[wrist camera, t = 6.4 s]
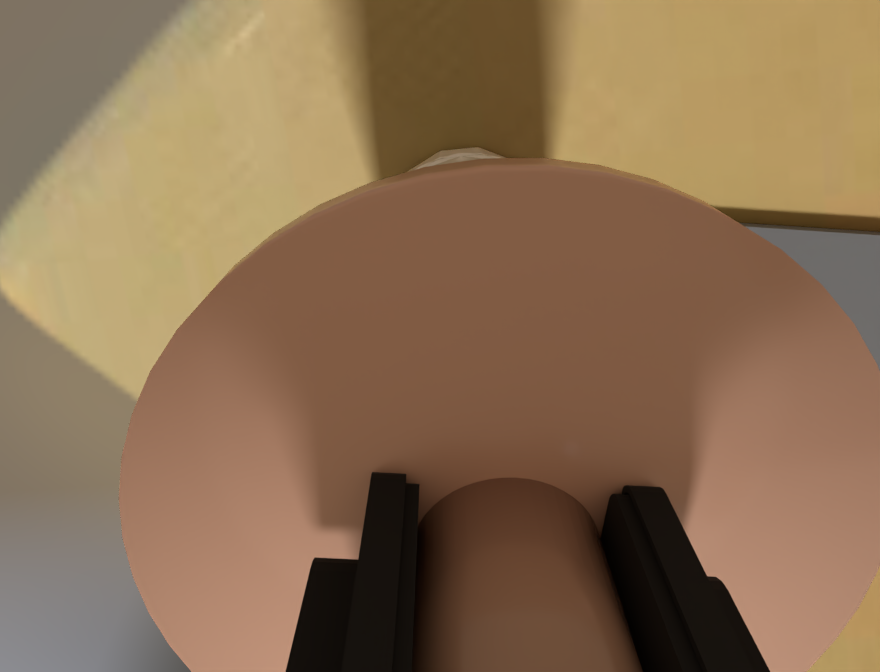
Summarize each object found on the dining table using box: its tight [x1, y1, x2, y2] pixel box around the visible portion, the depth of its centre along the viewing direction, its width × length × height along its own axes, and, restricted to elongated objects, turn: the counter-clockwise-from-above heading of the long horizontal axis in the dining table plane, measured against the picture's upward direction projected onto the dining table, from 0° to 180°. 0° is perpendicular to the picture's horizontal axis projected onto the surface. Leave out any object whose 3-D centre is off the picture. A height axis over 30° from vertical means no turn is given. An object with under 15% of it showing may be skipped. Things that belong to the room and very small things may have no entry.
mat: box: [740, 223, 880, 371], centre depth 30 cm, size 14×14×1 cm
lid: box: [119, 158, 880, 672], centre depth 9 cm, size 12×12×5 cm
